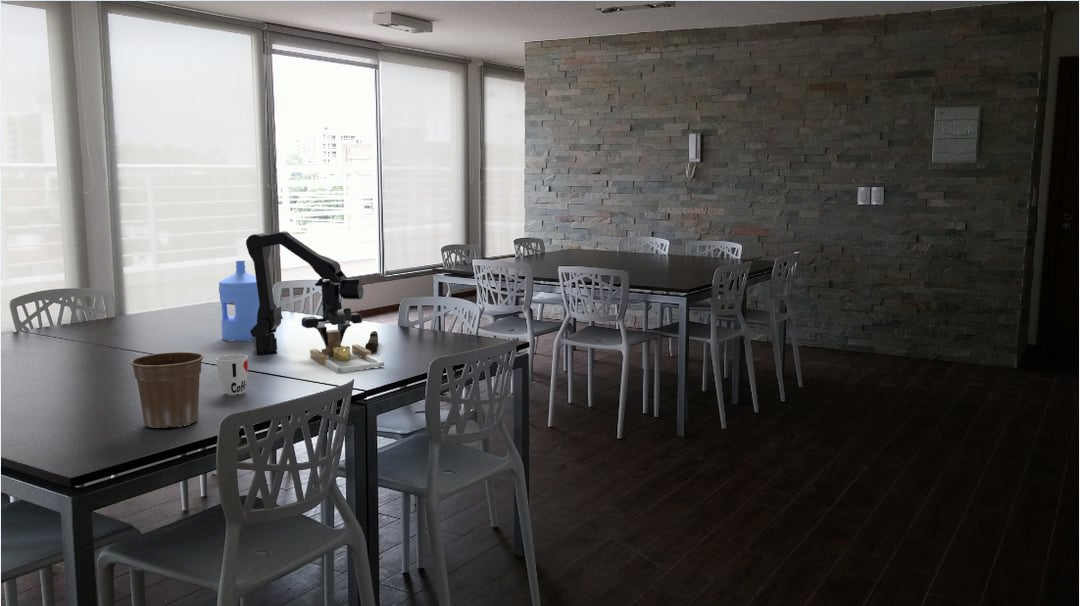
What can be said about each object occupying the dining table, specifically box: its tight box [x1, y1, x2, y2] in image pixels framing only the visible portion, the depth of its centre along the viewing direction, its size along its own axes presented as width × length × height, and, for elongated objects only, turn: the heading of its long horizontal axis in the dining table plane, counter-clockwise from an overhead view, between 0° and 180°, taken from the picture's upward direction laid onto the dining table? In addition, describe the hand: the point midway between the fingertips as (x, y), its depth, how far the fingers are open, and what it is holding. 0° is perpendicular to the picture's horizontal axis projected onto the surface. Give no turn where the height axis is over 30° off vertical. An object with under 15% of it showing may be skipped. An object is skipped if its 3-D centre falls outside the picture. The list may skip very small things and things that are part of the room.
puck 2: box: [337, 348, 351, 362], centre depth 286 cm, size 4×4×4 cm
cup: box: [216, 353, 249, 396], centre depth 245 cm, size 8×8×10 cm
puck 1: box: [332, 345, 346, 360], centre depth 290 cm, size 4×4×4 cm
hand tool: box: [364, 330, 379, 354], centre depth 305 cm, size 19×4×5 cm, turn 4°
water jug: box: [218, 260, 259, 342], centre depth 323 cm, size 16×16×28 cm
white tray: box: [325, 354, 385, 374], centre depth 277 cm, size 14×13×2 cm
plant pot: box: [130, 351, 204, 429], centre depth 216 cm, size 16×16×16 cm
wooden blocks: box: [309, 344, 372, 366], centre depth 289 cm, size 16×13×2 cm
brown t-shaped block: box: [321, 329, 351, 356], centre depth 295 cm, size 9×6×7 cm, turn 120°
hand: (333, 345), depth 296 cm, fingers closed on brown t-shaped block, 4 cm apart
